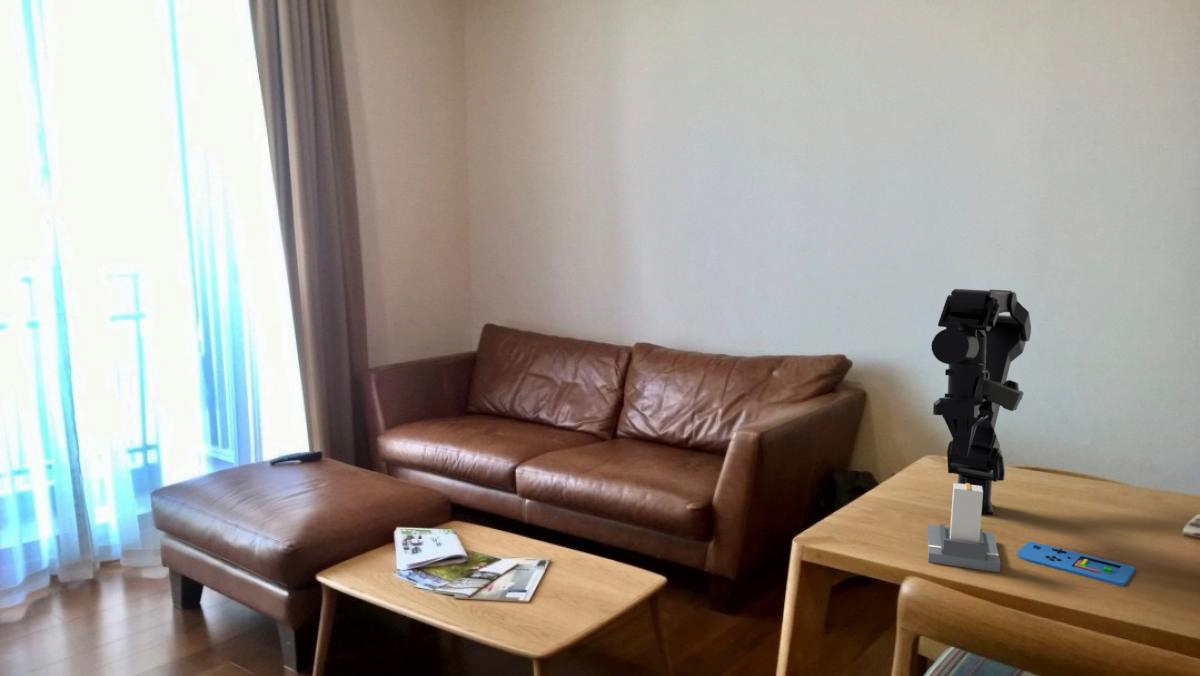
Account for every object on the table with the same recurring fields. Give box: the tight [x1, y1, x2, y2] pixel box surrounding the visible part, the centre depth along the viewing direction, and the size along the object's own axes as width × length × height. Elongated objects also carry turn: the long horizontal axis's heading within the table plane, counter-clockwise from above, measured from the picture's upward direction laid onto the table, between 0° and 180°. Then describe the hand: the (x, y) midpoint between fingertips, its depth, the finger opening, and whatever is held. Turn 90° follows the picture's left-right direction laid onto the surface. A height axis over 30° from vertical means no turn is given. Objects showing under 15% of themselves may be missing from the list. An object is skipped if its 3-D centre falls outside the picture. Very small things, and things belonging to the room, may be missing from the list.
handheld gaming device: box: [1016, 541, 1136, 587], centre depth 128 cm, size 8×1×15 cm
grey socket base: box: [926, 523, 1001, 573], centre depth 132 cm, size 13×10×4 cm
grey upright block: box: [950, 482, 983, 543], centre depth 128 cm, size 3×4×10 cm
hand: (964, 456), depth 140 cm, fingers closed
